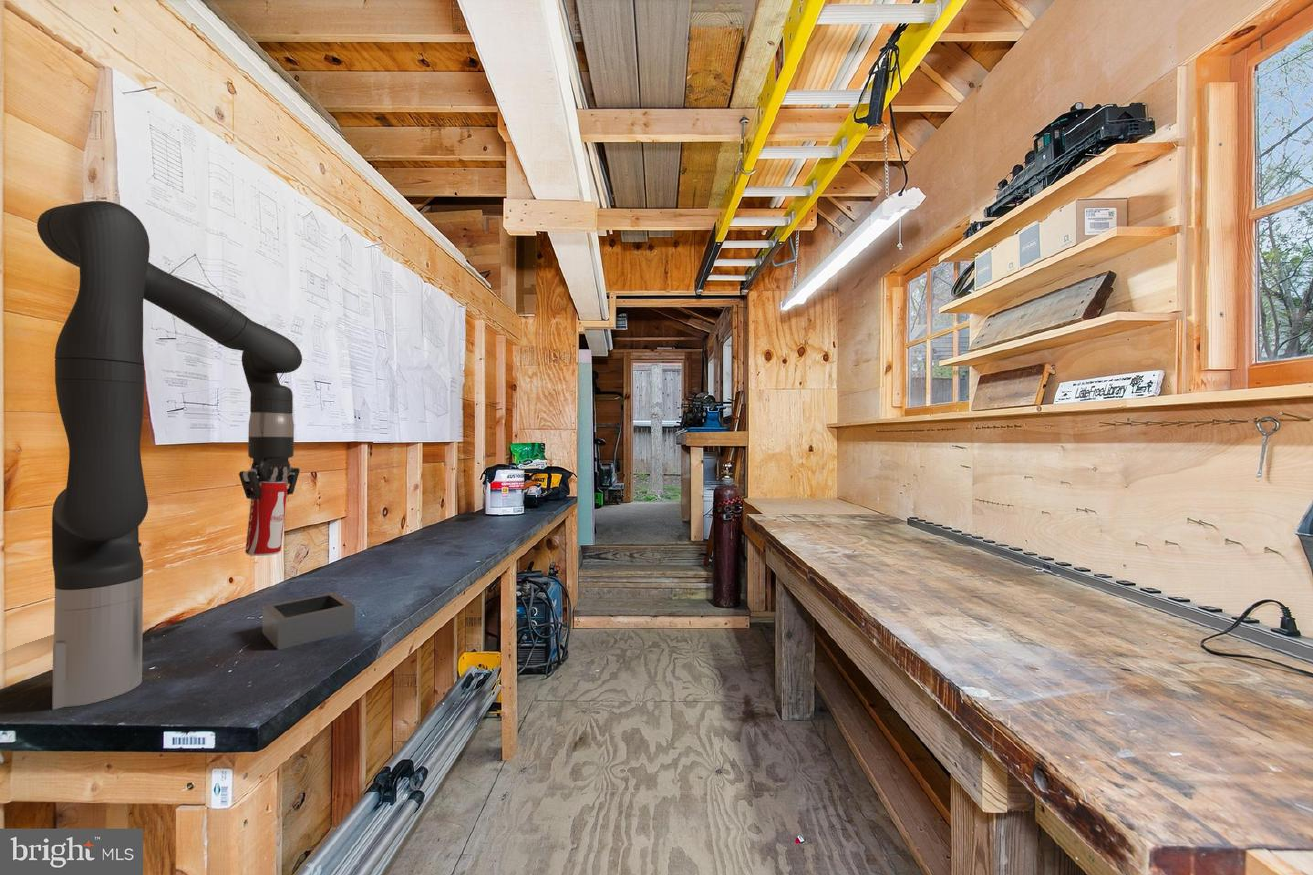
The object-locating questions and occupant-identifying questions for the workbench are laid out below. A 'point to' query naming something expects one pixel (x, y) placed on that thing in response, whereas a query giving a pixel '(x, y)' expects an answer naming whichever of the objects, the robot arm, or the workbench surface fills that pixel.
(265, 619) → the socket block
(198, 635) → the workbench surface
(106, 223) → the robot arm
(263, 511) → the beverage can
